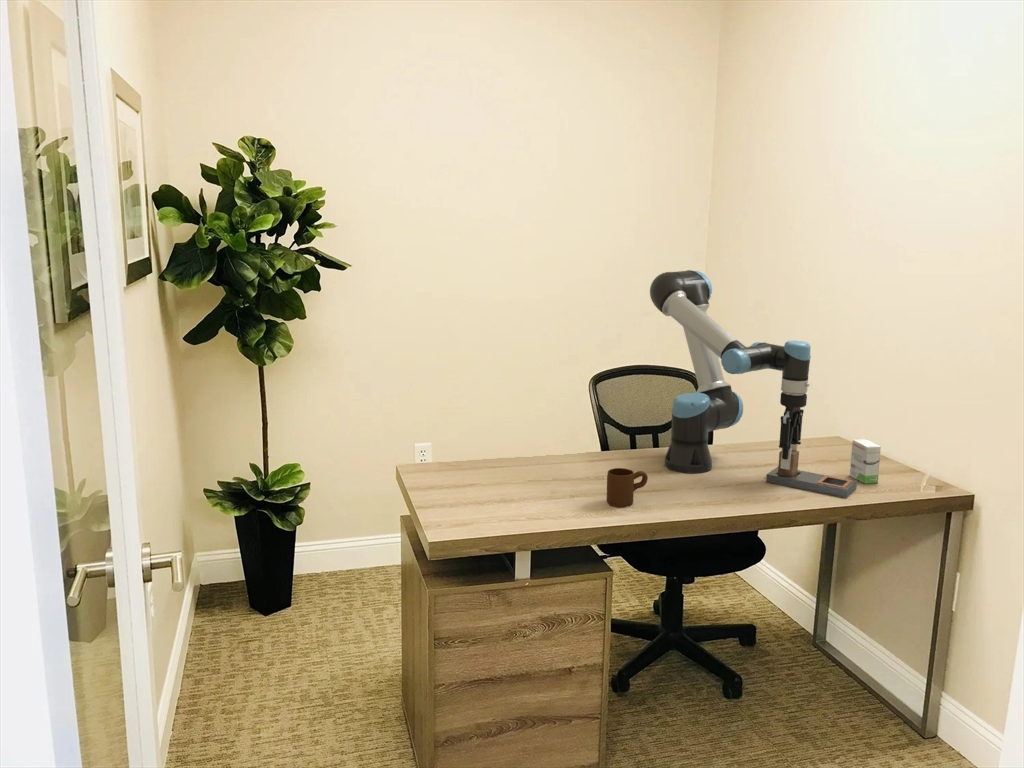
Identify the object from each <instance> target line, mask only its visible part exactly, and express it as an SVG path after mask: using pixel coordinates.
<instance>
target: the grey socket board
mask: <svg viewBox="0 0 1024 768" xmlns="http://www.w3.org/2000/svg"><path fill="white" fill-rule="evenodd" d="M765 482H766V483H770V484H775V485H779V486H784V487H789V488H794V489H799V490H804V491H810V492H814V493H820V494H822V495H829V496H834V497H839V498H845V499H847V498H848V497H850V496H851V495H852V494H853V493H854V492H855V491H856V490H857V486H858V485H857V484H858V480H853V479H849V478H843V477H836V476H833V475H826V474H821V473H814V472H810V471H806V470H800V469H798V472H797V476H796V477H795V478H794V477H789V476H784V475H779V474H778V466H776V467H774V469H772V470H770V471H769V472H767V473H766V476H765ZM852 492H853V493H852Z"/></svg>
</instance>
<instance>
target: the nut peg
mask: <svg viewBox="0 0 1024 768" xmlns="http://www.w3.org/2000/svg"><path fill="white" fill-rule="evenodd" d="M781 454H782V450H780V451H779V454H778V466H777V467H778V474H779V475H784V476H789V477H794V478H795V477H796V476H797V472H798V470H799V457H800V451H799V450H797V451H795V450H791V463H790V470H787V469H782V468H780V467H781Z"/></svg>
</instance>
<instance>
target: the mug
mask: <svg viewBox="0 0 1024 768" xmlns="http://www.w3.org/2000/svg"><path fill="white" fill-rule="evenodd" d="M606 477H607V478H606V503H607V504H608V505H609V506H611V507H614V506H616V507H615V508H628V507H630V505H631V506H632V505H633V504H634V493H635V492H636V491H637V490H638V489H641V488H643V487H645V486H646V485H647V482H648V479H649V477H648V474H647V472H645V471H643V470H638V471H636V472H634V471H633V470H631V469H629V468H623V467H615V468H611V469H609V470H607V476H606ZM640 477H642V478H641V480H640V481H639V482H635V480H636V479H638V478H640ZM627 506H628V507H627Z"/></svg>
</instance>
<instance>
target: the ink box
mask: <svg viewBox="0 0 1024 768" xmlns="http://www.w3.org/2000/svg"><path fill="white" fill-rule="evenodd" d="M851 441H852V444H851V454H850V455H851V456H850V467H849V476H850V477H852V478H853V479H855V480H856V481H858V480H859V481H858V482H860V483H862V484H863V485H864V484H878V483H879V473H880V460H881V446H880V445H878V444H876V443H874V442H872V441H870V440H868V439H852V440H851Z"/></svg>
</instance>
